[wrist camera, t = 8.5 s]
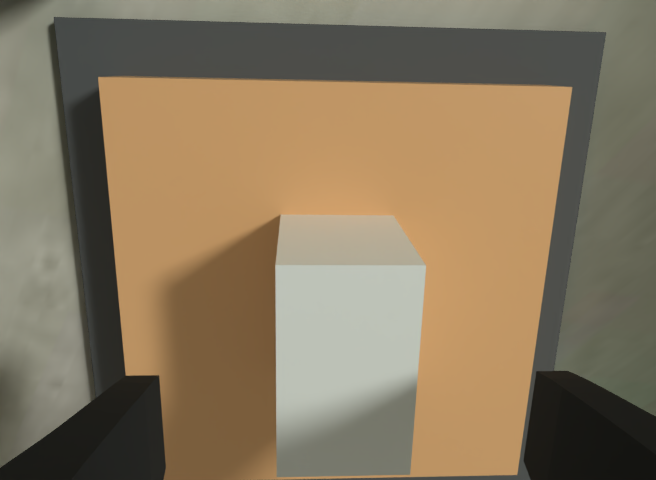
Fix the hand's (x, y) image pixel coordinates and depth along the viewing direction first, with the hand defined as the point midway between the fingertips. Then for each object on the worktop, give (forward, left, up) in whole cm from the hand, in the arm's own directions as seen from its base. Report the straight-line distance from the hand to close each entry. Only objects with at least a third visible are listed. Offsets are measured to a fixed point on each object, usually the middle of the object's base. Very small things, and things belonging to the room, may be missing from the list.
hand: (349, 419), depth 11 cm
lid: (0, 0, -6) cm, 6 cm away
